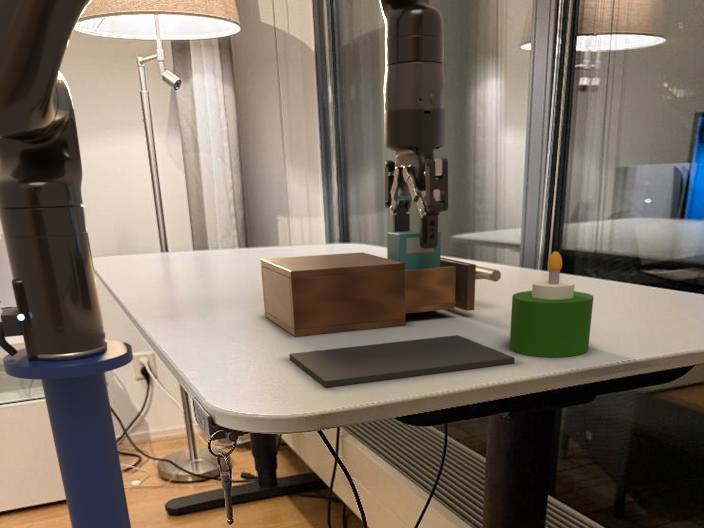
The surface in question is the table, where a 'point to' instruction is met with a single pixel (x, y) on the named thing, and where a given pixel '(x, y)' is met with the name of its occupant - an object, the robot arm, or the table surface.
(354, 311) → the cabinet
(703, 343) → the table surface
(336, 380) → the mat
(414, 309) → the drawer
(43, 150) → the robot arm
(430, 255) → the teal labeled box
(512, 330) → the candle
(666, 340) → the table surface
